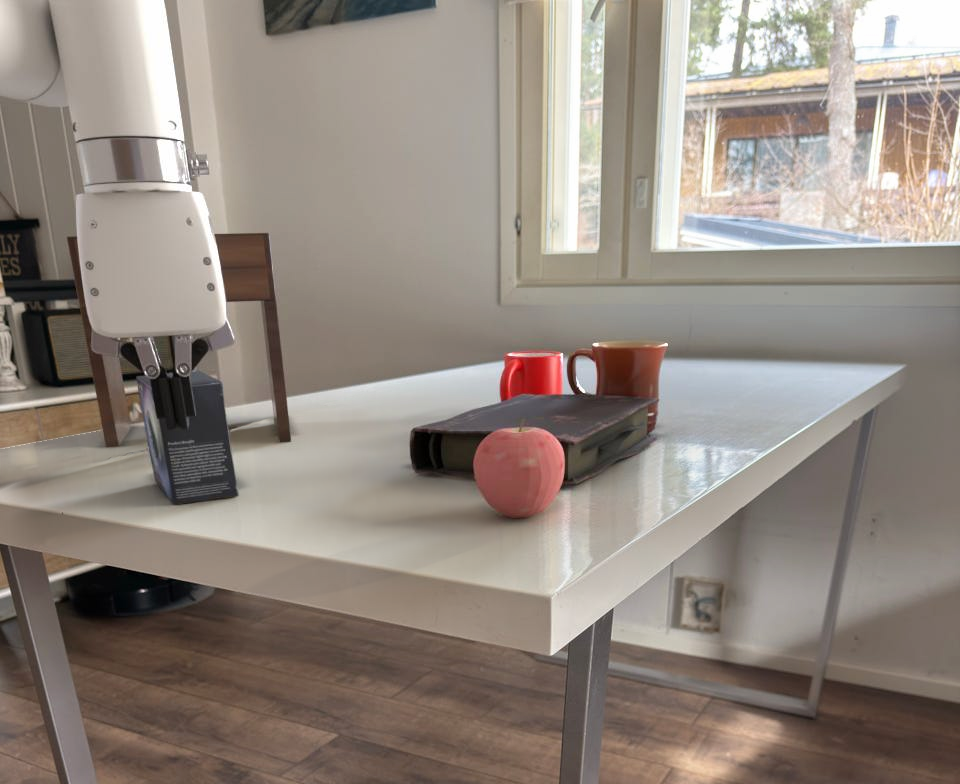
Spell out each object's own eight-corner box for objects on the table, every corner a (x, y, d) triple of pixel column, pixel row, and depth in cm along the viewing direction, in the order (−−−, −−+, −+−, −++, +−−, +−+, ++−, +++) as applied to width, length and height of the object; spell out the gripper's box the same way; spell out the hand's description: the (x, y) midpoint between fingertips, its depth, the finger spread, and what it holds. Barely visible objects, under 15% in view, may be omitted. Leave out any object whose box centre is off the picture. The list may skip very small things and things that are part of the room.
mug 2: (671, 428, 109) (676, 341, 105) (650, 441, 102) (654, 348, 98) (579, 423, 115) (581, 339, 111) (553, 435, 107) (554, 346, 103)
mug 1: (479, 420, 118) (477, 359, 115) (522, 407, 128) (521, 350, 125) (531, 424, 115) (531, 361, 112) (571, 410, 124) (572, 351, 121)
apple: (575, 507, 76) (576, 412, 73) (550, 530, 70) (550, 427, 67) (493, 501, 79) (492, 409, 76) (462, 523, 73) (459, 424, 69)
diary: (408, 475, 89) (405, 424, 87) (516, 432, 110) (516, 390, 108) (581, 492, 81) (582, 436, 79) (663, 443, 101) (666, 398, 99)
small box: (150, 483, 89) (131, 374, 85) (216, 475, 91) (201, 369, 87) (168, 506, 80) (148, 386, 76) (241, 496, 83) (225, 379, 79)
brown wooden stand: (291, 441, 108) (269, 232, 99) (107, 454, 103) (66, 236, 94) (285, 423, 120) (264, 236, 111) (120, 433, 116) (85, 239, 107)
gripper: (240, 176, 70) (270, 413, 77) (36, 179, 67) (87, 427, 74) (241, 166, 63) (274, 427, 71) (14, 169, 60) (73, 442, 67)
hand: (178, 426), depth 72 cm, fingers closed
